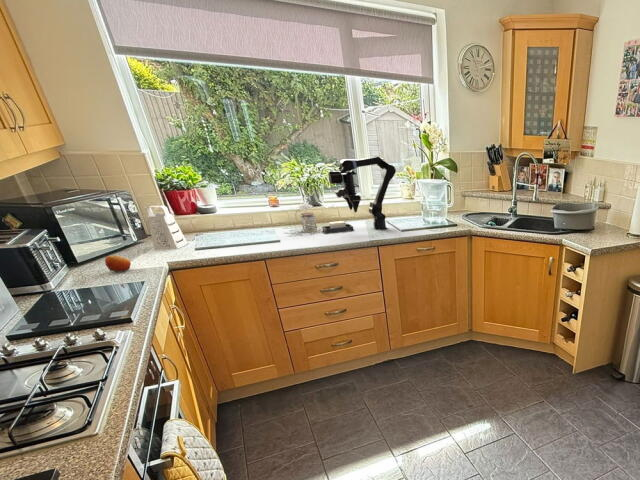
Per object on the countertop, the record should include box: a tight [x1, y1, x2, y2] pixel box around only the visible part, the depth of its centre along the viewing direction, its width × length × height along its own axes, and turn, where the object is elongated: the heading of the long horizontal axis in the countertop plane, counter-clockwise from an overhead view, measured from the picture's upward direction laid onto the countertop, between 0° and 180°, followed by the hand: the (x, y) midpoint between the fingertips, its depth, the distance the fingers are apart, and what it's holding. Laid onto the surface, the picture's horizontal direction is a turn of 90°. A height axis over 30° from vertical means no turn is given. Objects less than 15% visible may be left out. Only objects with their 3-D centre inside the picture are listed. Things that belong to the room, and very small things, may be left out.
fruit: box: [104, 254, 132, 275], centre depth 177 cm, size 8×8×8 cm
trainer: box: [328, 220, 347, 228], centre depth 252 cm, size 9×4×4 cm, turn 125°
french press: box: [294, 186, 320, 233], centre depth 246 cm, size 10×12×25 cm
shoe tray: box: [321, 223, 354, 234], centre depth 253 cm, size 16×8×2 cm, turn 125°
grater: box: [146, 205, 188, 250], centre depth 210 cm, size 10×10×20 cm
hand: (353, 211), depth 247 cm, fingers open, 9 cm apart
